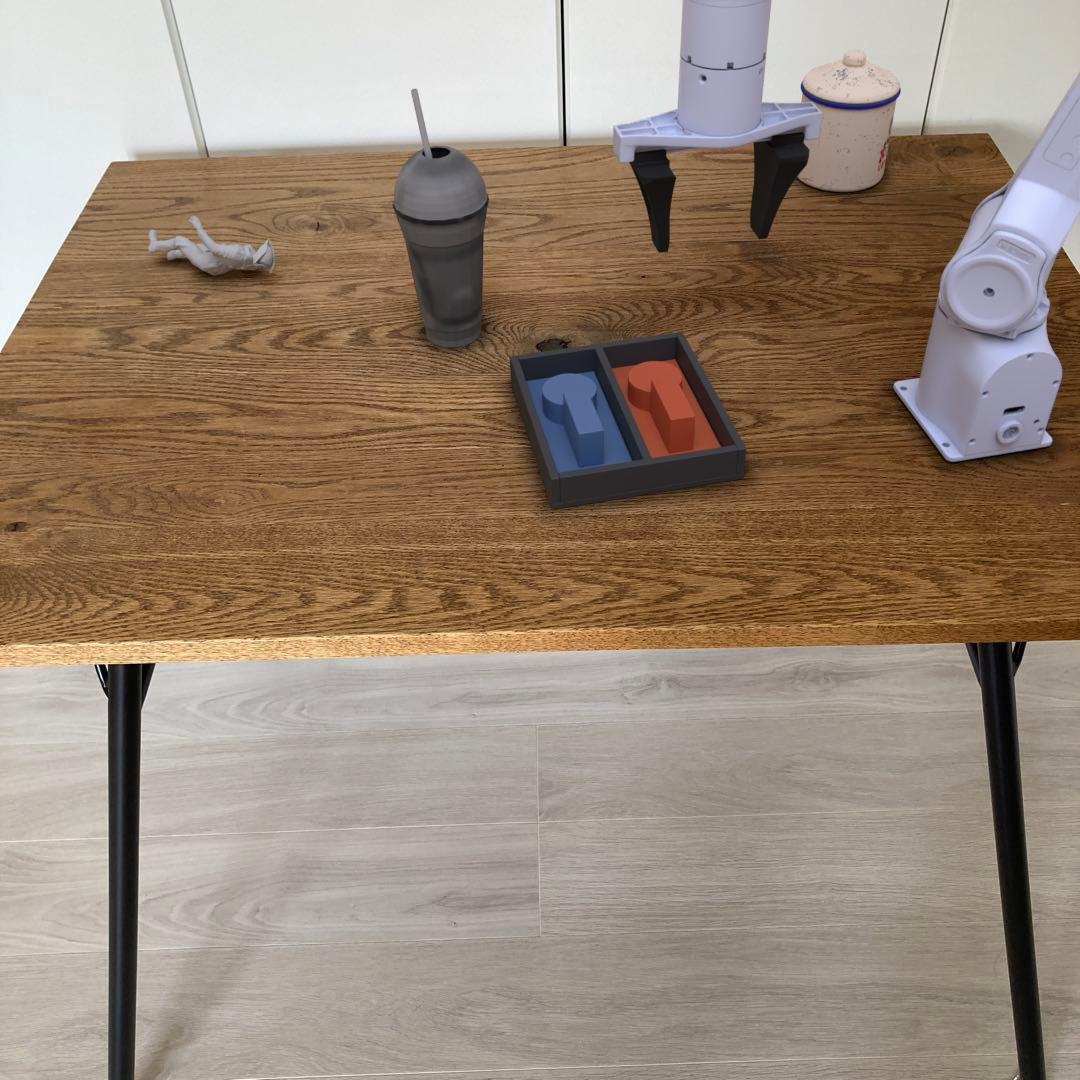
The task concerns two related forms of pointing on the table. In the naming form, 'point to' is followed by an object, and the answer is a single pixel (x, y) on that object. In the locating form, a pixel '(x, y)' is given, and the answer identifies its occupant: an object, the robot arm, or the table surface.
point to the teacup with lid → (849, 123)
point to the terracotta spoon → (663, 402)
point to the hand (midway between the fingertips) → (709, 239)
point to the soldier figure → (214, 252)
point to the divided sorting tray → (625, 424)
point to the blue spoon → (576, 415)
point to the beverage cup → (444, 237)
